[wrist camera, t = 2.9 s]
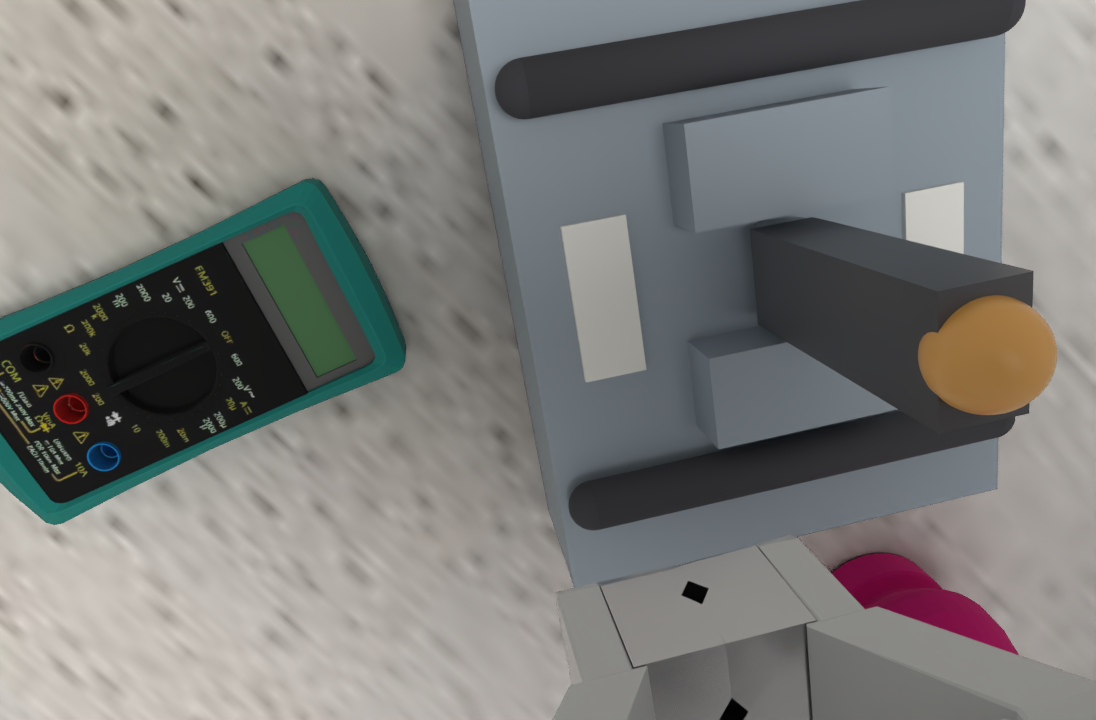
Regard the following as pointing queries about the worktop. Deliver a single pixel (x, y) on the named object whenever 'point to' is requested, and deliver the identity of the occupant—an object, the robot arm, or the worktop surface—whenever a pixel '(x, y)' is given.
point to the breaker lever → (905, 319)
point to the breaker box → (716, 260)
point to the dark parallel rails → (722, 58)
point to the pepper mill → (918, 597)
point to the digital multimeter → (189, 351)
